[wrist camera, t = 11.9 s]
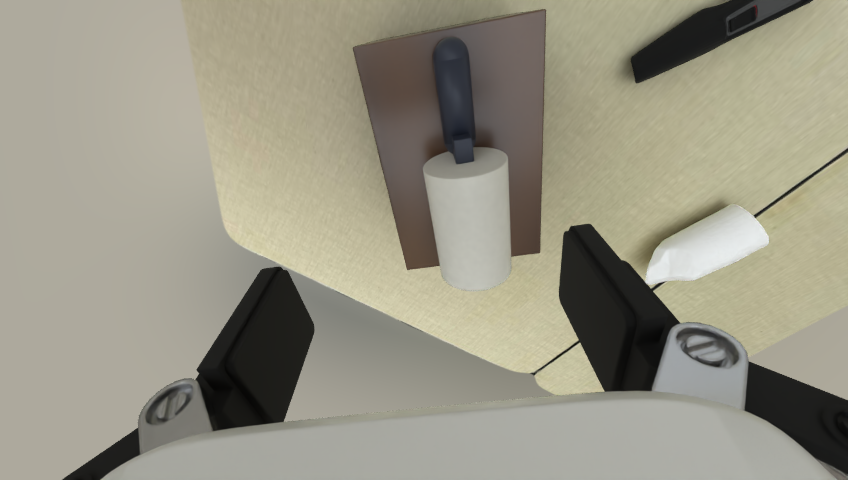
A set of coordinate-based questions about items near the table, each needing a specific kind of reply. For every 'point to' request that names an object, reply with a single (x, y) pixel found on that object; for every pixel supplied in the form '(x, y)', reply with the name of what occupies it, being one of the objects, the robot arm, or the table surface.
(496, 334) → the table surface
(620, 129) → the table surface
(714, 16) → the electric trimmer
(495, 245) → the lint roller
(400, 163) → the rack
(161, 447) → the robot arm
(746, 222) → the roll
